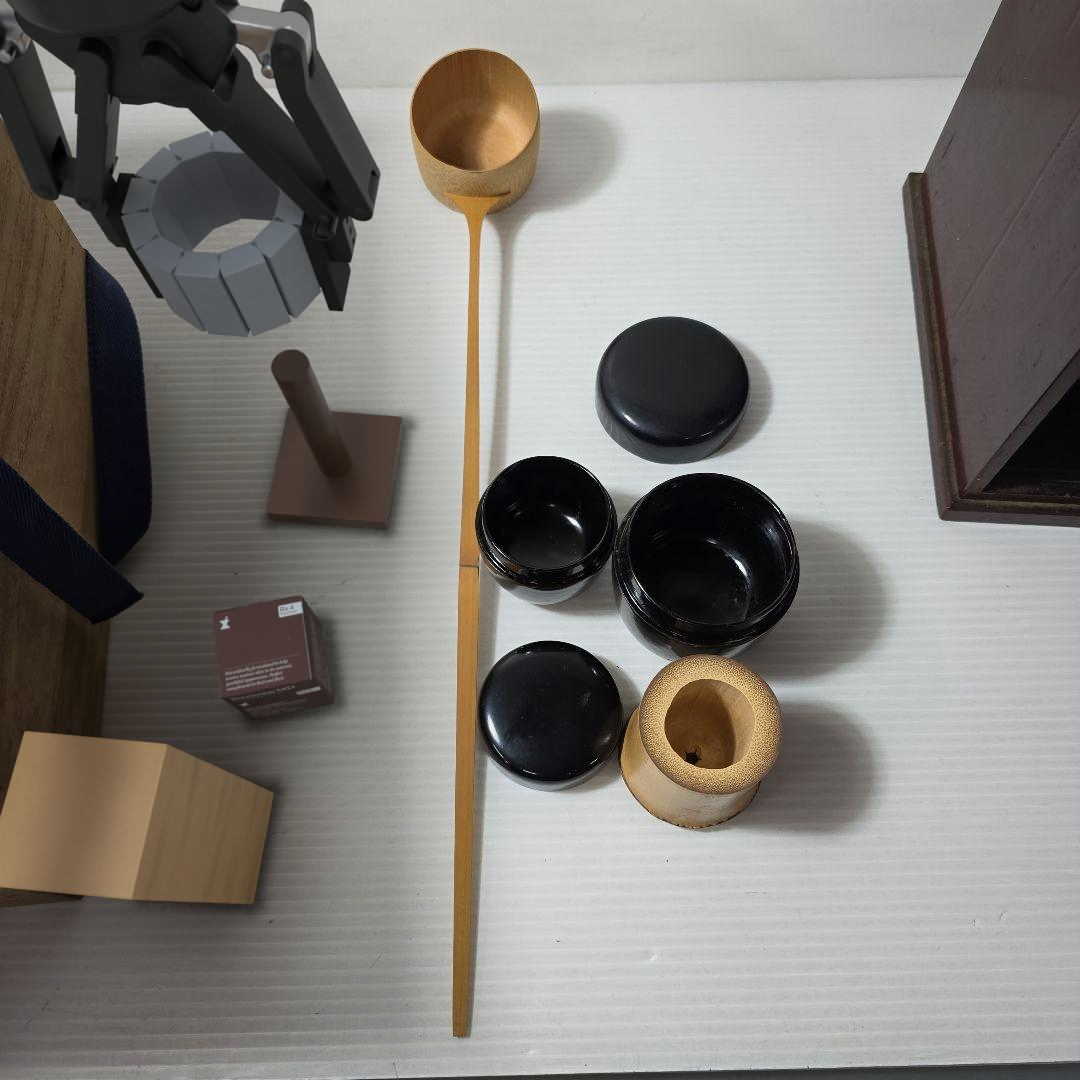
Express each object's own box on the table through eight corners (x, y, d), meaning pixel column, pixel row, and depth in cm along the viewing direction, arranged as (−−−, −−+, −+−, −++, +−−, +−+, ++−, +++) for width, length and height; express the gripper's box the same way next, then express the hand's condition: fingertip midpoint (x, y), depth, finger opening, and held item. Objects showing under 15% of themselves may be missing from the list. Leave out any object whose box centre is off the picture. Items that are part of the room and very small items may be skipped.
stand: (146, 894, 63) (-21, 885, 44) (171, 782, 66) (24, 730, 47) (253, 904, 63) (131, 900, 44) (274, 792, 65) (167, 743, 47)
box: (250, 721, 67) (216, 699, 60) (242, 640, 69) (209, 610, 62) (336, 704, 68) (312, 680, 61) (325, 623, 70) (301, 592, 63)
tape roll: (144, 330, 49) (102, 269, 45) (182, 194, 52) (147, 124, 48) (313, 342, 49) (288, 282, 44) (341, 205, 52) (321, 135, 47)
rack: (271, 520, 73) (203, 423, 58) (292, 416, 76) (234, 300, 62) (387, 530, 72) (349, 434, 58) (404, 425, 76) (371, 310, 61)
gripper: (-308, -80, 30) (43, 328, 51) (365, -41, 29) (440, 357, 50) (-218, -231, 33) (79, 215, 54) (400, -199, 32) (458, 241, 53)
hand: (254, 284), depth 52 cm, fingers closed on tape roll, 9 cm apart
